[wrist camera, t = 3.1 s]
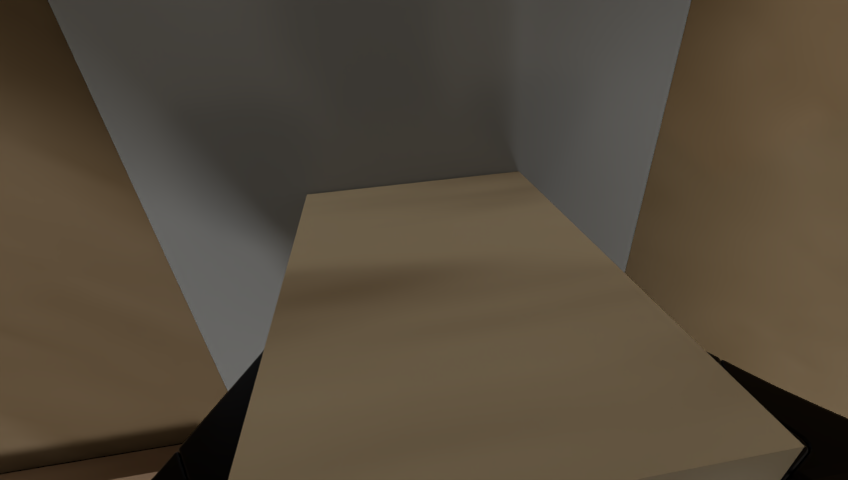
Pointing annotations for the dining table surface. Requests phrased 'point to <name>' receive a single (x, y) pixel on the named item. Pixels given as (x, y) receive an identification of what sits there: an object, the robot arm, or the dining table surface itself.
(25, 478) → the walnut board
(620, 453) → the maple block
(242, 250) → the slate gray tile
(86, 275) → the dining table surface
